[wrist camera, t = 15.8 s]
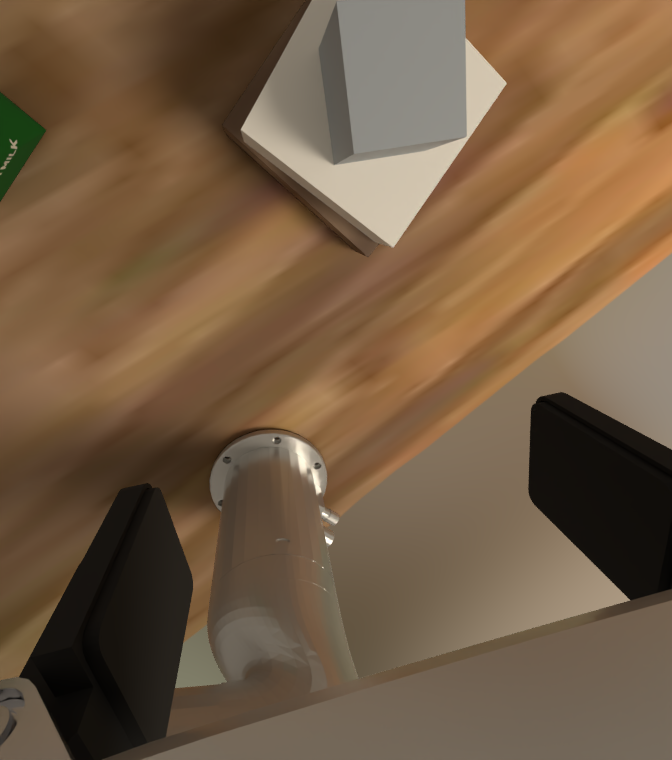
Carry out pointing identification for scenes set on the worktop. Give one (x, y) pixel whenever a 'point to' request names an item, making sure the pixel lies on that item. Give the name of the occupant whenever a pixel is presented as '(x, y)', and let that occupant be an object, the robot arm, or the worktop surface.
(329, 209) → the walnut base block
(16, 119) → the milk carton
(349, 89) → the slate-grey cube
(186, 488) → the worktop surface
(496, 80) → the off-white top block
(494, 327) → the worktop surface
